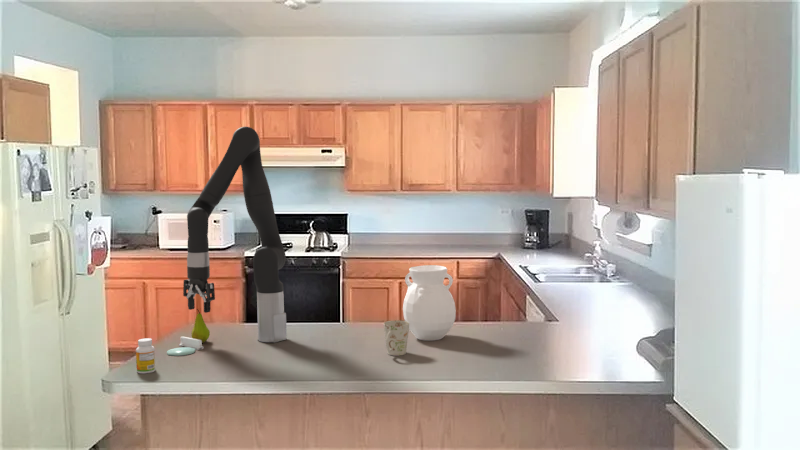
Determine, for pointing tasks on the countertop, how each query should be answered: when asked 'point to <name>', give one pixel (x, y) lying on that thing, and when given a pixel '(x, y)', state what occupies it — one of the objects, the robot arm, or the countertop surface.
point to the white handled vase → (429, 302)
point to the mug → (396, 337)
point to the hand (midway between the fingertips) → (199, 310)
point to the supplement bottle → (145, 356)
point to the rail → (191, 343)
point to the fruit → (200, 329)
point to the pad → (181, 351)
